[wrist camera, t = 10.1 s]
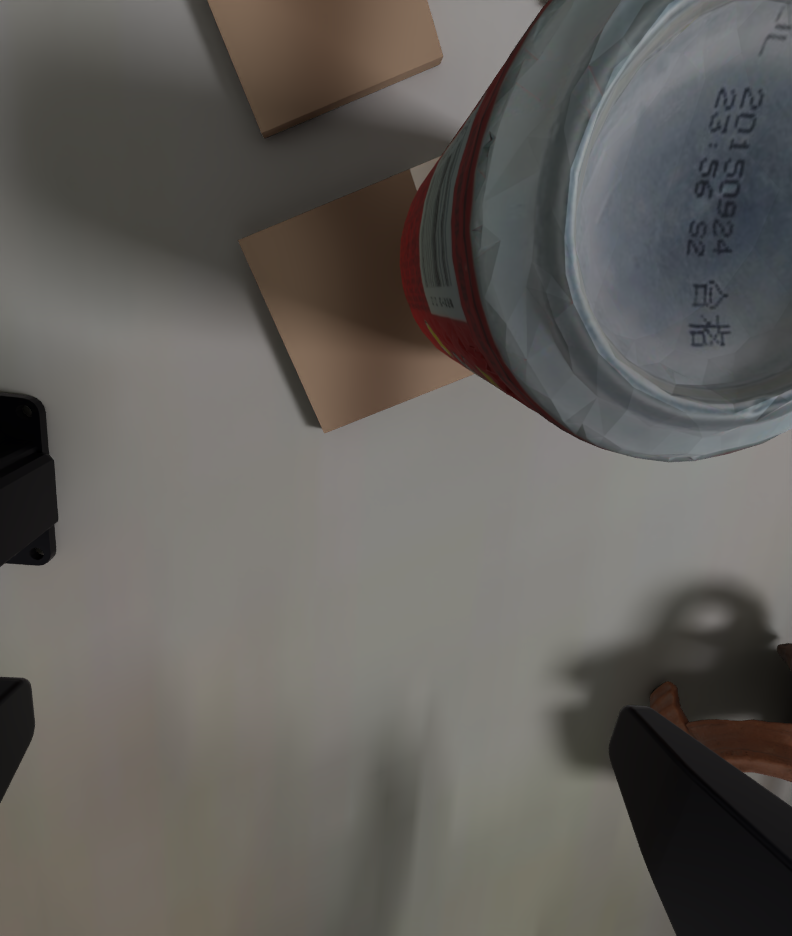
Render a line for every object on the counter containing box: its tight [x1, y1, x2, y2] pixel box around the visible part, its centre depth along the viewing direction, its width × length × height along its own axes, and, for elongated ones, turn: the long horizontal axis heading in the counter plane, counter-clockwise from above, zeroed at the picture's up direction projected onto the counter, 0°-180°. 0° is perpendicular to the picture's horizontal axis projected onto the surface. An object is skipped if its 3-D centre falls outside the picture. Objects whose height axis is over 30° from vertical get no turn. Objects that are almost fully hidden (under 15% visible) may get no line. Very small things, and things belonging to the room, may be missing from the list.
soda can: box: [400, 0, 792, 462], centre depth 12 cm, size 7×7×12 cm
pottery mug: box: [650, 643, 792, 782], centre depth 23 cm, size 12×10×8 cm
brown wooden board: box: [238, 156, 474, 433], centre depth 18 cm, size 16×7×1 cm, turn 111°
